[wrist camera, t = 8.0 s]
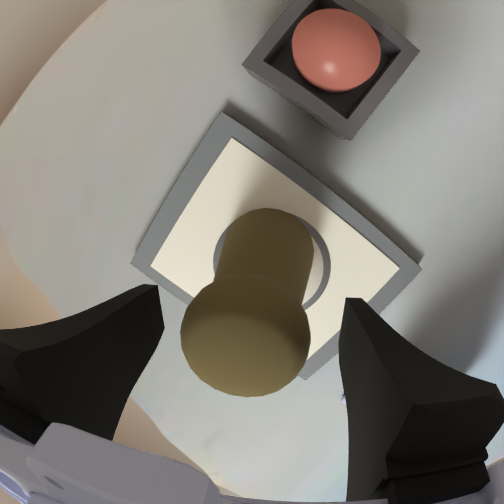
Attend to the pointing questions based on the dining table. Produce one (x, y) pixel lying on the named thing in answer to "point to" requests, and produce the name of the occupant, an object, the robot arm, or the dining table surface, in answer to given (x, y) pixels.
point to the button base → (316, 101)
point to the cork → (253, 307)
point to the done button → (335, 50)
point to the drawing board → (275, 197)
